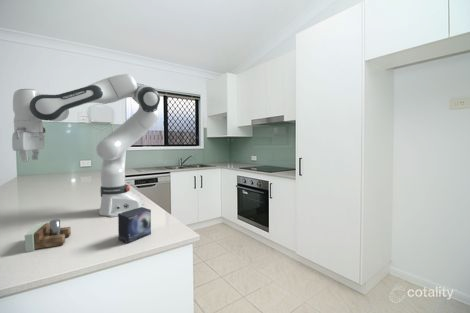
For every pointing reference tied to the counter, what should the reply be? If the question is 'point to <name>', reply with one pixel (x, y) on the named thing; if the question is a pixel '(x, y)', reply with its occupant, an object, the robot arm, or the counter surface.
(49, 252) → the counter surface
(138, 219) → the small box
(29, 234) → the wall
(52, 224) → the dowel
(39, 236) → the block
